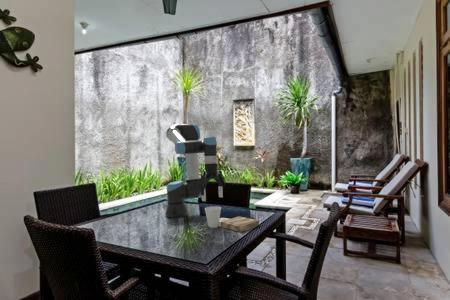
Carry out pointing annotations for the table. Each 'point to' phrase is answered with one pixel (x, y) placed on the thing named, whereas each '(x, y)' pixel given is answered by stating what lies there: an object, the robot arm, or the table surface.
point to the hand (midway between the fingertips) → (212, 199)
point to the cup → (213, 216)
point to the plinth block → (239, 224)
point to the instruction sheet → (223, 219)
